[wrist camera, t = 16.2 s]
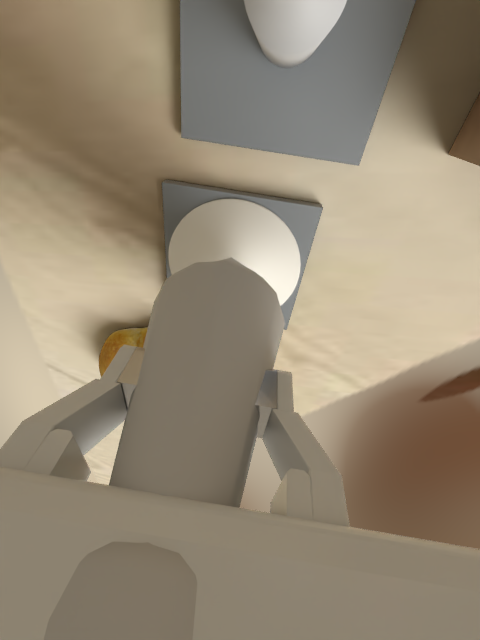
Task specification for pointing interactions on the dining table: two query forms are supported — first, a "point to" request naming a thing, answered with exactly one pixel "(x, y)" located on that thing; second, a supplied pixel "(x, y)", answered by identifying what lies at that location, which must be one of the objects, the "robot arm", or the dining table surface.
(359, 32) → the board
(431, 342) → the dining table surface
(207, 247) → the board
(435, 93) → the dining table surface
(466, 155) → the brown wooden block
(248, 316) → the salt shaker
